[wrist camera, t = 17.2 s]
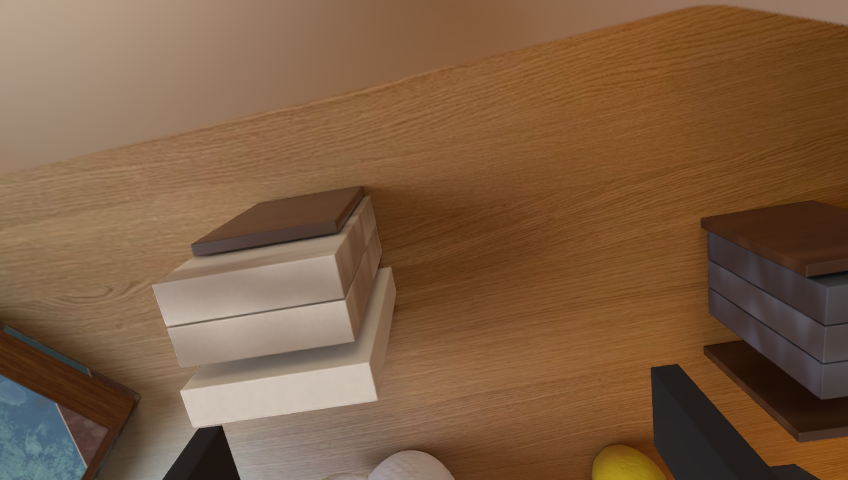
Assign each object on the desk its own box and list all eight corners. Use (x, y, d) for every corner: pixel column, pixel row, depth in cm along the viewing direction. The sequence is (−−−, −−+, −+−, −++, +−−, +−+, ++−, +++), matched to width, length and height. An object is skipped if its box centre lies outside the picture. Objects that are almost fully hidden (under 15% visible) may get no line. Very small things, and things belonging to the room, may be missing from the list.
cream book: (268, 286, 43) (179, 391, 28) (391, 266, 42) (369, 362, 27) (275, 312, 44) (192, 428, 28) (396, 292, 43) (378, 401, 28)
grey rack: (700, 218, 41) (819, 270, 28) (811, 200, 40) (982, 245, 28) (703, 353, 44) (810, 453, 32) (805, 338, 44) (954, 434, 31)
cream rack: (251, 204, 41) (145, 268, 26) (368, 184, 40) (330, 237, 25) (286, 331, 44) (210, 455, 29) (395, 314, 44) (376, 431, 28)
